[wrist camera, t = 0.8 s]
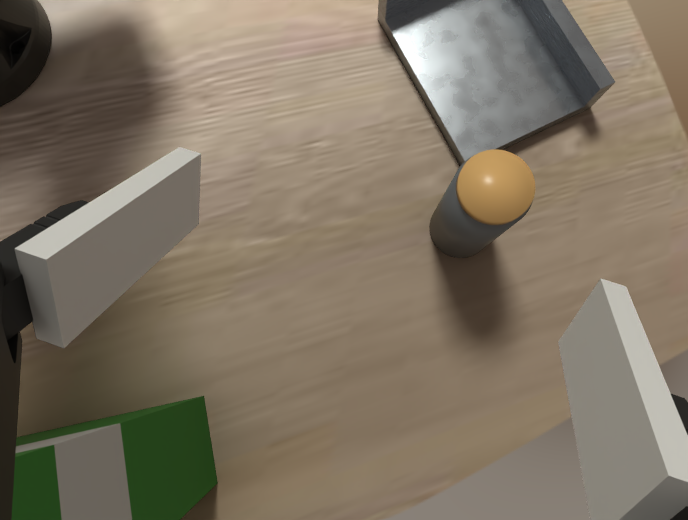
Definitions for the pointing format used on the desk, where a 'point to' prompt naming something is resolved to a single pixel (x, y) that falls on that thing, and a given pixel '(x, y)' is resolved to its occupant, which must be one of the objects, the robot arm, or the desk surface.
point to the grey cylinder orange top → (482, 202)
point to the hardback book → (117, 466)
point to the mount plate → (494, 66)
